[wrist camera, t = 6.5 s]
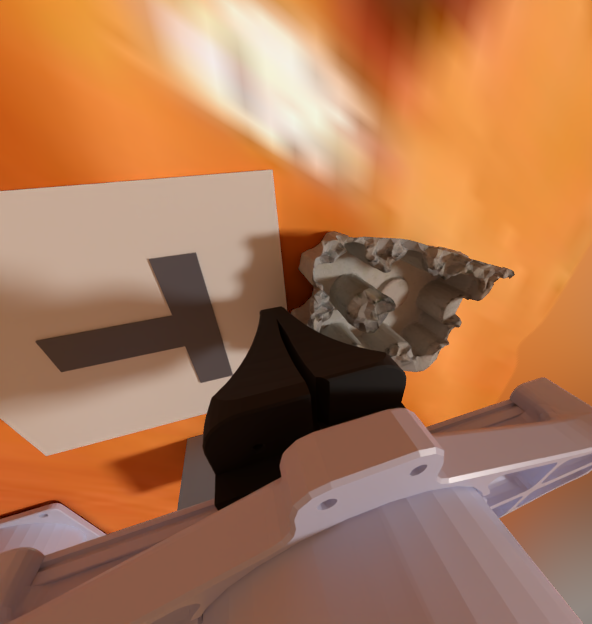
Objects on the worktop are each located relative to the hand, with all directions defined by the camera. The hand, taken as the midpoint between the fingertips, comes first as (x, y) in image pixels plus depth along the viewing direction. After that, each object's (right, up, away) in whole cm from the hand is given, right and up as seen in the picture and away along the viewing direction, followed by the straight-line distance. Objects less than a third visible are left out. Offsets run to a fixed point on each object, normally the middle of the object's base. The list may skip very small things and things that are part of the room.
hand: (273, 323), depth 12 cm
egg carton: (+6, +2, +2) cm, 7 cm away
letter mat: (-7, -1, 0) cm, 7 cm away
